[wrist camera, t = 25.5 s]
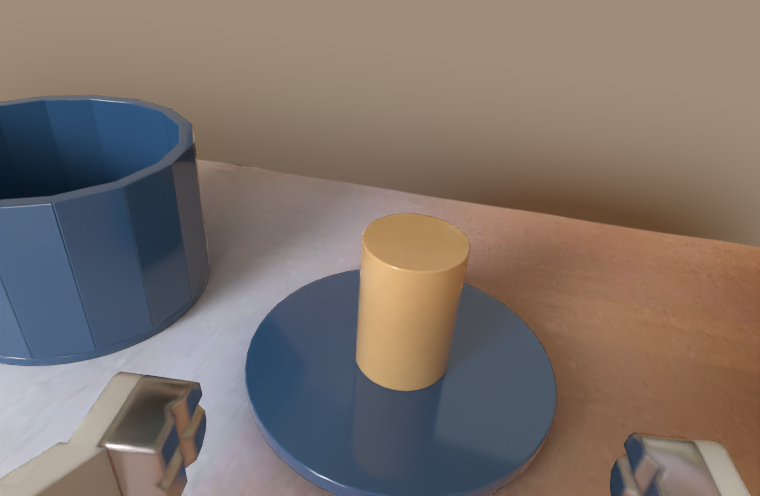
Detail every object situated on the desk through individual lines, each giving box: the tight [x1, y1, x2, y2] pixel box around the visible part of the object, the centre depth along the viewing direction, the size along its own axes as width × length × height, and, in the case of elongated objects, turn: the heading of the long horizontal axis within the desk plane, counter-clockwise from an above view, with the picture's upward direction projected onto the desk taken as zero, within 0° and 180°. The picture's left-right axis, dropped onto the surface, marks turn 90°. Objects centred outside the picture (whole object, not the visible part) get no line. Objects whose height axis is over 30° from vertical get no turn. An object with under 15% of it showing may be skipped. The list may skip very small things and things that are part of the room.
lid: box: [245, 214, 557, 496], centre depth 24 cm, size 14×14×8 cm
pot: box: [0, 95, 210, 366], centre depth 28 cm, size 13×13×8 cm
